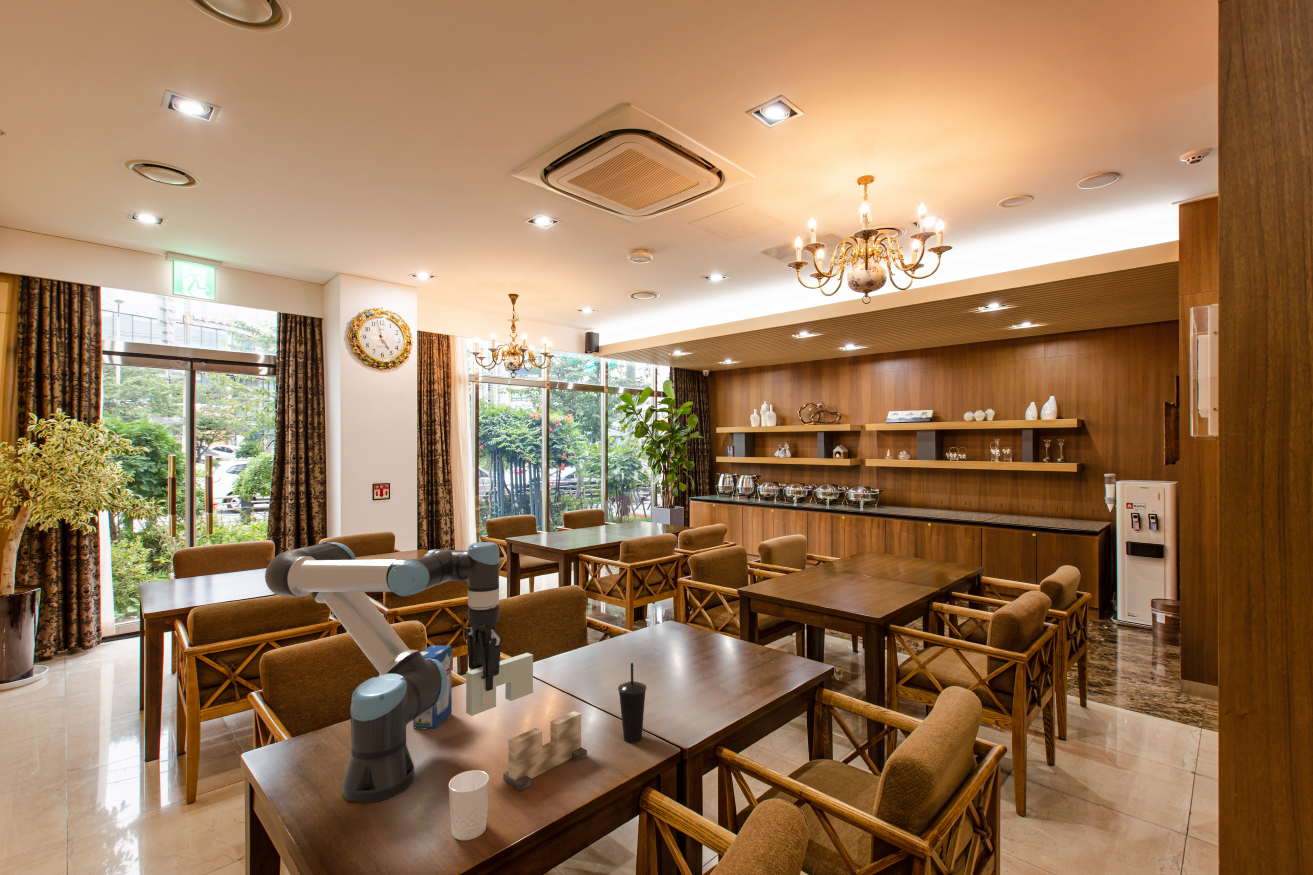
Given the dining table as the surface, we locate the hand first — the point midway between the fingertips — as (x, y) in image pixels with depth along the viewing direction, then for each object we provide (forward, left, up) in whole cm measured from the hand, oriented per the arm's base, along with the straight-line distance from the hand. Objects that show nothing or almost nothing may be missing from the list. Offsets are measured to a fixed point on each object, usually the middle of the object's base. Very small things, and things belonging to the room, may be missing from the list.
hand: (483, 700), depth 145 cm
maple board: (+9, -13, -16) cm, 22 cm away
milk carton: (+3, +32, -16) cm, 36 cm away
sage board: (+5, 0, -2) cm, 5 cm away
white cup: (-16, -20, -16) cm, 30 cm away
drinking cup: (+33, -19, -16) cm, 41 cm away
